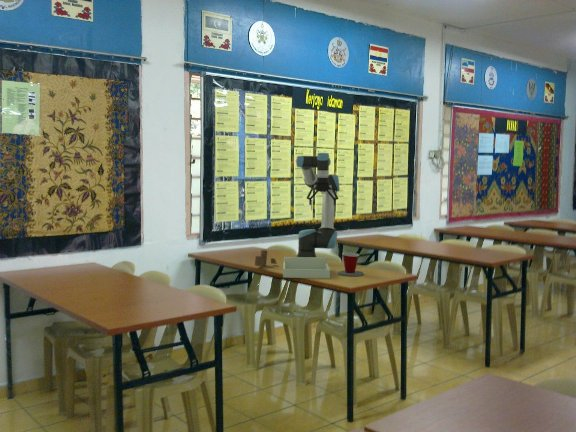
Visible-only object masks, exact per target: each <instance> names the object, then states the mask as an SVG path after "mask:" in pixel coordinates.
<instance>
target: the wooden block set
mask: <svg viewBox="0 0 576 432" xmlns="http://www.w3.org/2000/svg"><path fill="white" fill-rule="evenodd" d="M254 258H255V259H254V260H255V261H254V266H256V267H257V266H258V267H266V266H267V259H268V250H267V249H261V250H260V255H256V256H255V257H254ZM277 262H278V261H277V260H276V259H275V258H272V257H270V264H274V265H275V264H276V265H277V264H278V263H277Z"/></svg>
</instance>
